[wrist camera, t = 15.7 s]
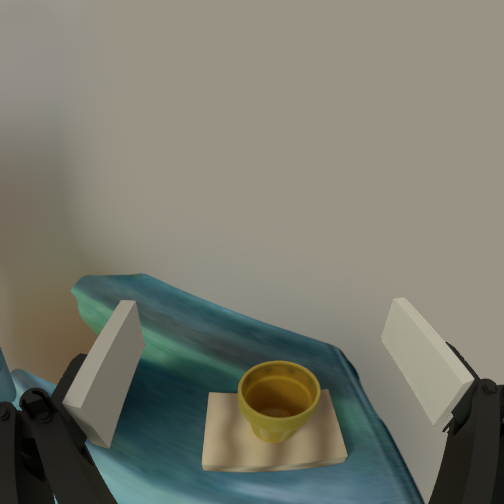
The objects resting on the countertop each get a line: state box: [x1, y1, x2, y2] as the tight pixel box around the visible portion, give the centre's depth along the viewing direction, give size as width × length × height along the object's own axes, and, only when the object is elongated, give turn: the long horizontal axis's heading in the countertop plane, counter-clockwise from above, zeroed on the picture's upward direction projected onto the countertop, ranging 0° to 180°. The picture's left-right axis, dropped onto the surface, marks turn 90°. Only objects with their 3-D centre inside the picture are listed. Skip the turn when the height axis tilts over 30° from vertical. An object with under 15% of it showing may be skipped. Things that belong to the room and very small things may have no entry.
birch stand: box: [202, 389, 348, 472], centre depth 35 cm, size 20×14×2 cm
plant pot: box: [238, 361, 321, 443], centre depth 33 cm, size 10×10×10 cm
